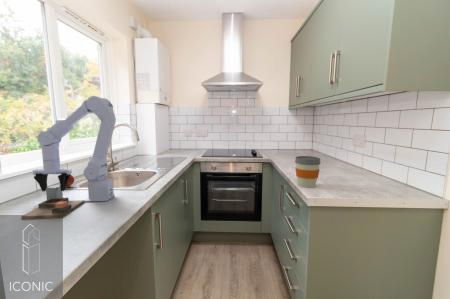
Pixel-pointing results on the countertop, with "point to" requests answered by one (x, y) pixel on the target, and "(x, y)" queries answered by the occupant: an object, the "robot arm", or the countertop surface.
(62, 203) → the button
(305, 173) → the reusable coffee cup
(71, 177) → the onion
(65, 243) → the countertop surface
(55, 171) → the robot arm
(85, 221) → the countertop surface
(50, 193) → the block
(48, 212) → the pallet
